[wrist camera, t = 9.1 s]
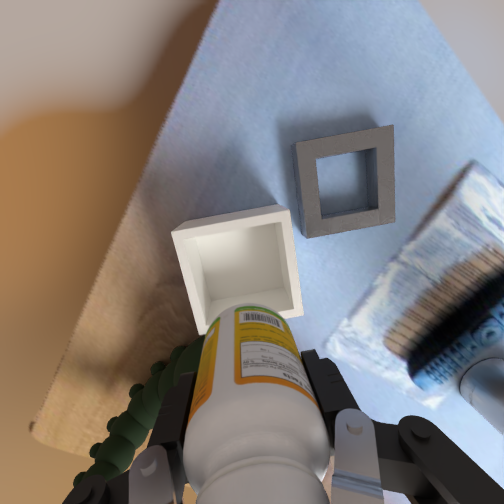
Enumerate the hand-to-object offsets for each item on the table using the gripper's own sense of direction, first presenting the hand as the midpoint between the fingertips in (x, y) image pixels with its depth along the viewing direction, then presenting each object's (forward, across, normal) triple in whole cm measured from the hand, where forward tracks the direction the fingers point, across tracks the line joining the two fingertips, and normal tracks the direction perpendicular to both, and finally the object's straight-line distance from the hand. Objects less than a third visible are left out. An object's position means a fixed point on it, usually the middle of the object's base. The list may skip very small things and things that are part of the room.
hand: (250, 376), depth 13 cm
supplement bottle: (+3, 0, 0) cm, 3 cm away
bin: (+21, 0, 0) cm, 21 cm away
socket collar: (+21, -14, -7) cm, 26 cm away
